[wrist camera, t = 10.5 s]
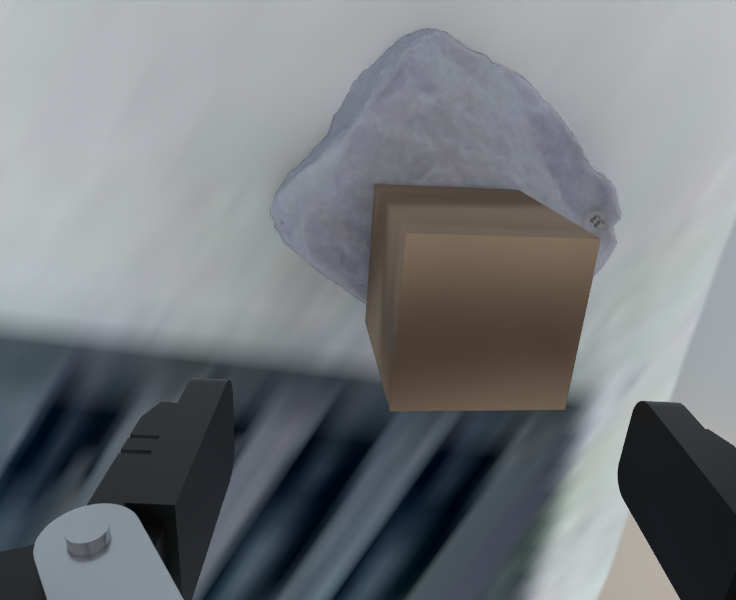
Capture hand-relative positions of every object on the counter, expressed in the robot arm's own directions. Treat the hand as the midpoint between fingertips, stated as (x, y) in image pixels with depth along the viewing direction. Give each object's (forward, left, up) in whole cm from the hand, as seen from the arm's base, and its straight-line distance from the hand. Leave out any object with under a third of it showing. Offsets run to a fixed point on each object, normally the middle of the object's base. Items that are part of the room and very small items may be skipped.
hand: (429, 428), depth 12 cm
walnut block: (0, +1, -10) cm, 10 cm away
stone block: (-2, +2, -15) cm, 15 cm away
